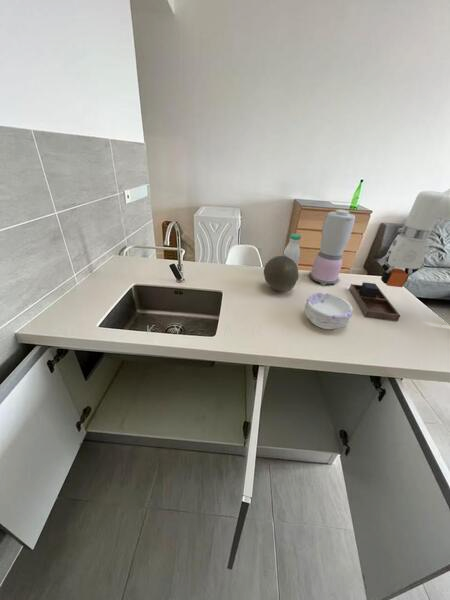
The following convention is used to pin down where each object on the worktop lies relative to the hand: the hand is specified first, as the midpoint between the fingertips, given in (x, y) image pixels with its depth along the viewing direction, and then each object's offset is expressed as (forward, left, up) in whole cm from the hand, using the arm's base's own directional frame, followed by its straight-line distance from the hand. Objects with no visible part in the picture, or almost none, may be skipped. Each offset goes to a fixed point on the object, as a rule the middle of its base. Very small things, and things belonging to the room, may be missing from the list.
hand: (392, 282), depth 88 cm
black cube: (+1, -12, -13) cm, 17 cm away
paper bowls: (+23, +12, -13) cm, 29 cm away
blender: (+18, -25, -13) cm, 34 cm away
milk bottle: (+34, -25, -13) cm, 44 cm away
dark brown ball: (+39, -8, -13) cm, 42 cm away
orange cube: (0, 0, 0) cm, 0 cm away
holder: (+1, -6, -13) cm, 15 cm away
